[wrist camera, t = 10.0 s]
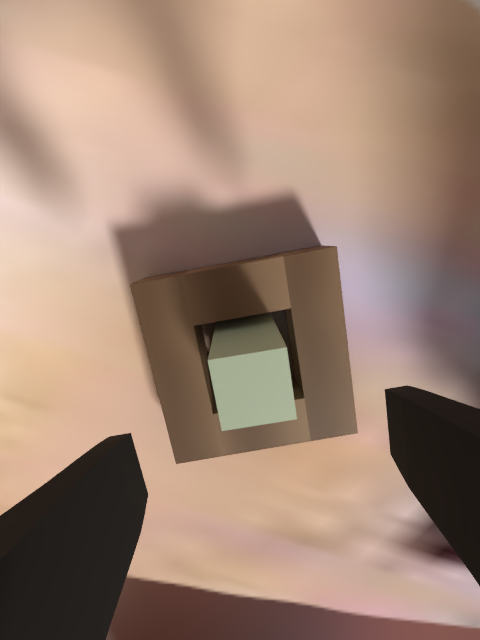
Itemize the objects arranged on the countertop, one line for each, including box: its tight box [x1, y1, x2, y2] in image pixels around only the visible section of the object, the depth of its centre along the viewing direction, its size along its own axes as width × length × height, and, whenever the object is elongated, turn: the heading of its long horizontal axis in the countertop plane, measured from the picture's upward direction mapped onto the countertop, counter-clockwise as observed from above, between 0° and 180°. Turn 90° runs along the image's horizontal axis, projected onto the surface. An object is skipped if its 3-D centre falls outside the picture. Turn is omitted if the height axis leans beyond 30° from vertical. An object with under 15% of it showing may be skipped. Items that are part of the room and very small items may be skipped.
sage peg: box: [208, 312, 297, 431], centre depth 15 cm, size 3×3×6 cm
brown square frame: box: [130, 246, 358, 464], centre depth 17 cm, size 9×9×2 cm
